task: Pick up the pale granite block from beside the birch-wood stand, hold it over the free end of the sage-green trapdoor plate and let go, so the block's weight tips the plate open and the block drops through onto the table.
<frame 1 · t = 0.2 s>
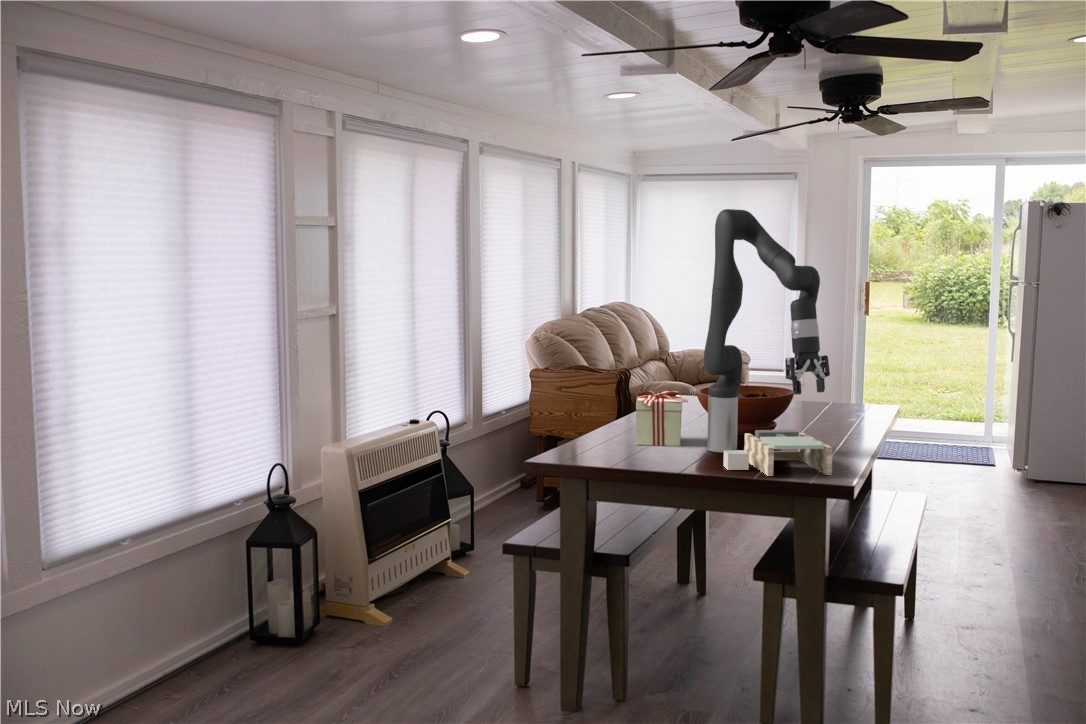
hand: (809, 393, 267), 22 cm above the table, tool pointing down, fingers open, 8 cm apart
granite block: (735, 469, 272), on the table
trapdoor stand: (786, 467, 274), on the table
trapdoor: (786, 443, 273), point 7 cm above the table, hinge at 0.0°
gift box: (660, 443, 313), on the table
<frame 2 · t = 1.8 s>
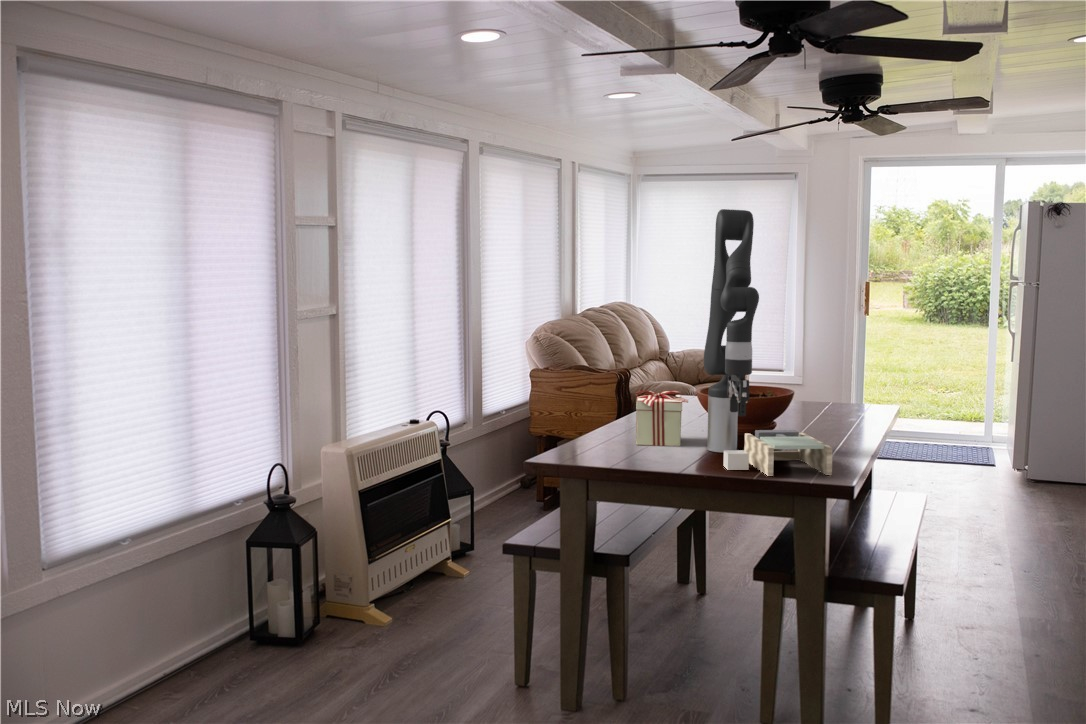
hand: (737, 414, 270), 16 cm above the table, tool pointing down, fingers open, 8 cm apart
nothing on the table moved.
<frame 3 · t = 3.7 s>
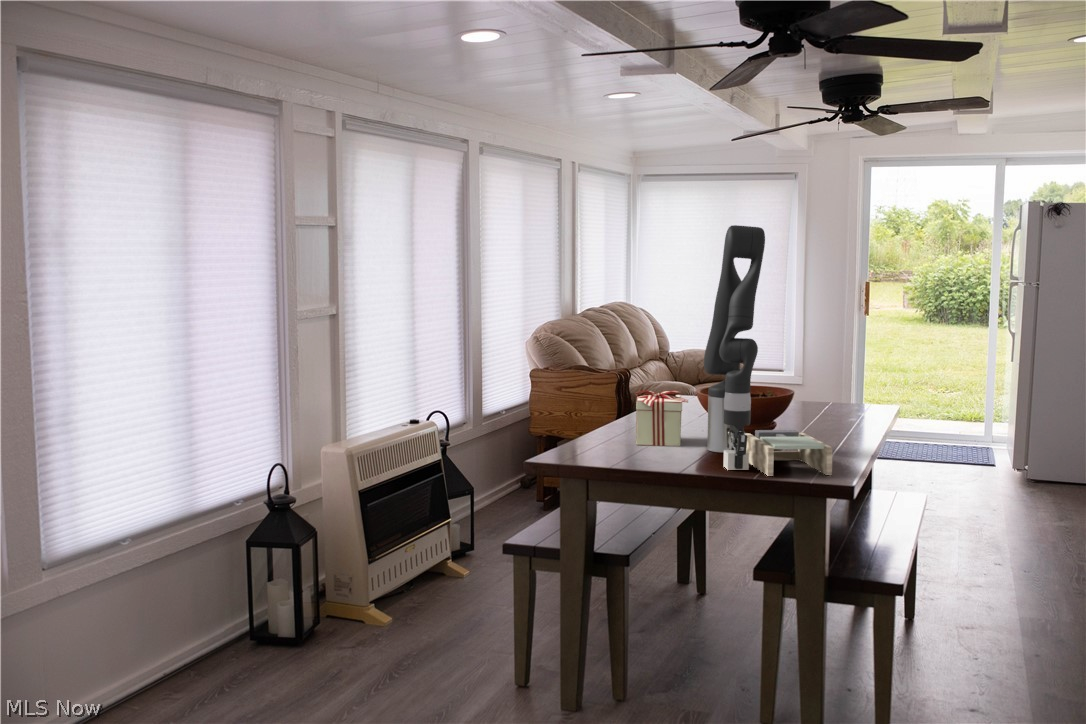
hand: (735, 466, 272), 1 cm above the table, tool pointing down, fingers closed on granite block, 5 cm apart
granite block: (735, 468, 272), on the table, touching gripper
everything else where it was.
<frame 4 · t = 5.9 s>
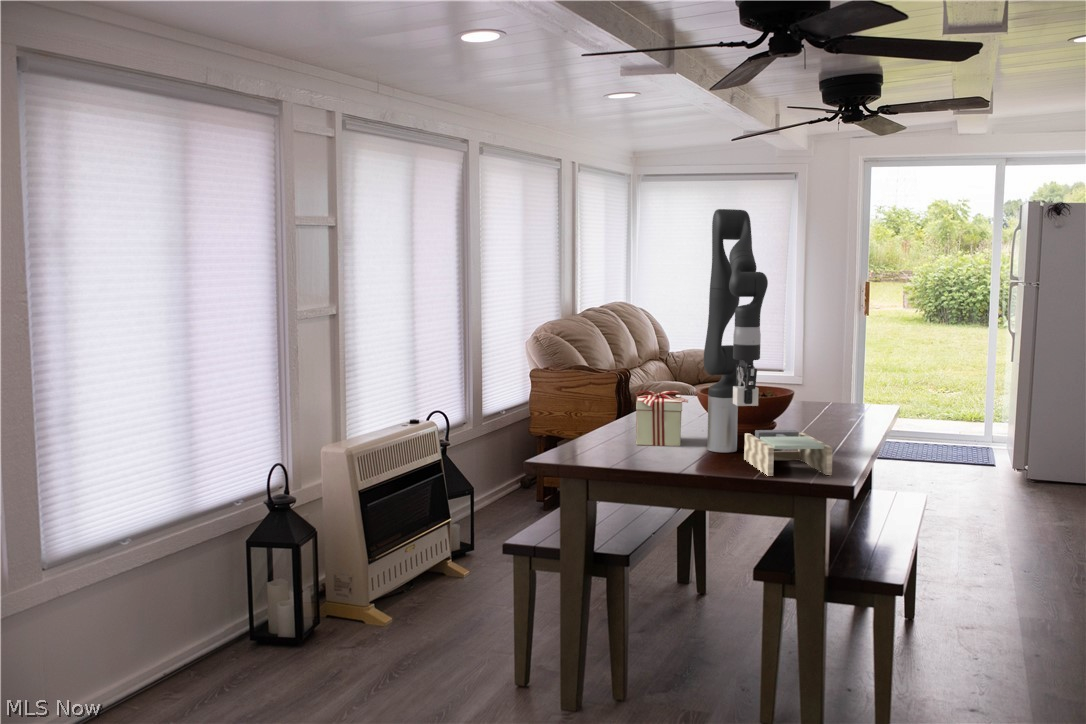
hand: (745, 402, 269), 19 cm above the table, tool pointing down, fingers closed on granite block, 5 cm apart
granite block: (745, 404, 269), point 19 cm above the table, touching gripper
everything else where it was.
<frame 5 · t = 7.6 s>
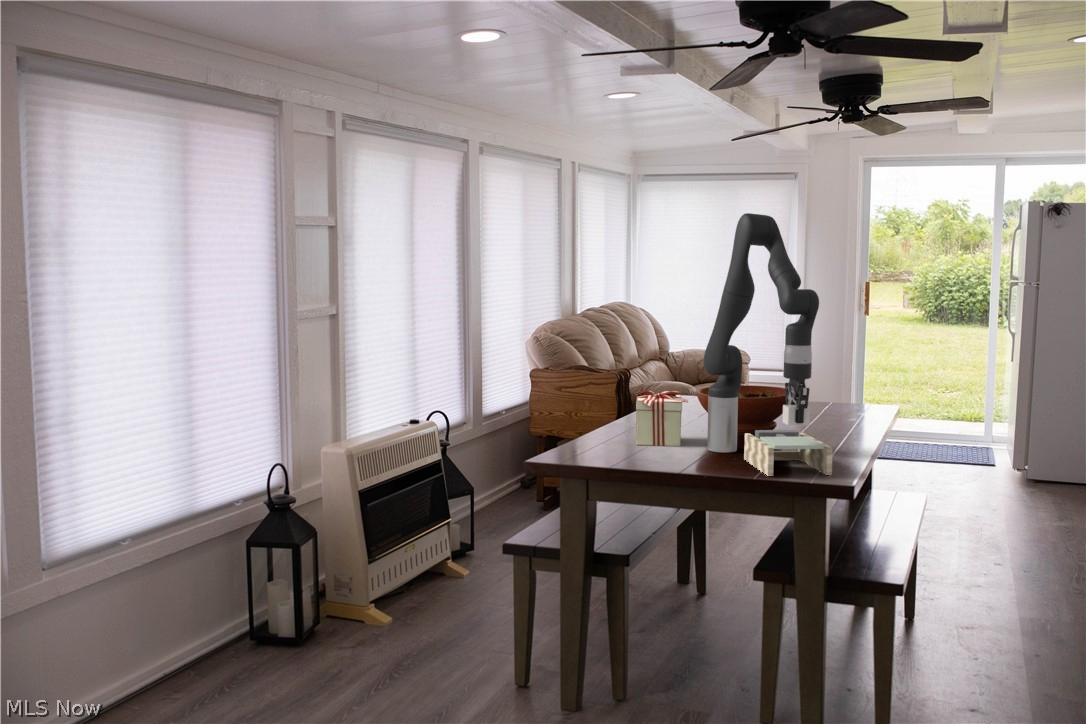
hand: (795, 421, 265), 15 cm above the table, tool pointing down, fingers closed on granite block, 5 cm apart
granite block: (795, 423, 265), point 14 cm above the table, touching gripper
everything else where it was.
when the fingers open (12 cm above the table, at t = 8.5 s): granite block drops 8 cm and tips over, resting on trapdoor.
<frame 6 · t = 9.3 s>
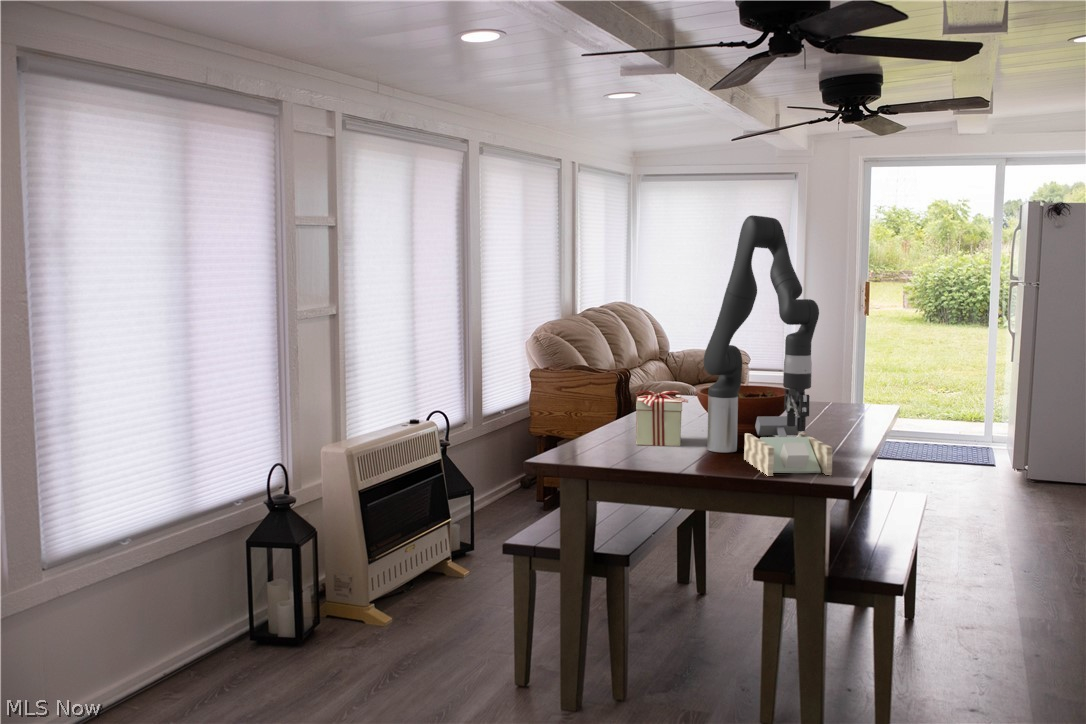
hand: (795, 428, 265), 13 cm above the table, tool pointing down, fingers open, 8 cm apart
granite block: (792, 462, 267), point 3 cm above the table, tilted 33°, touching trapdoor
trapdoor: (785, 447, 274), point 6 cm above the table, hinge at -32.8°, touching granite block
everything else where it was.
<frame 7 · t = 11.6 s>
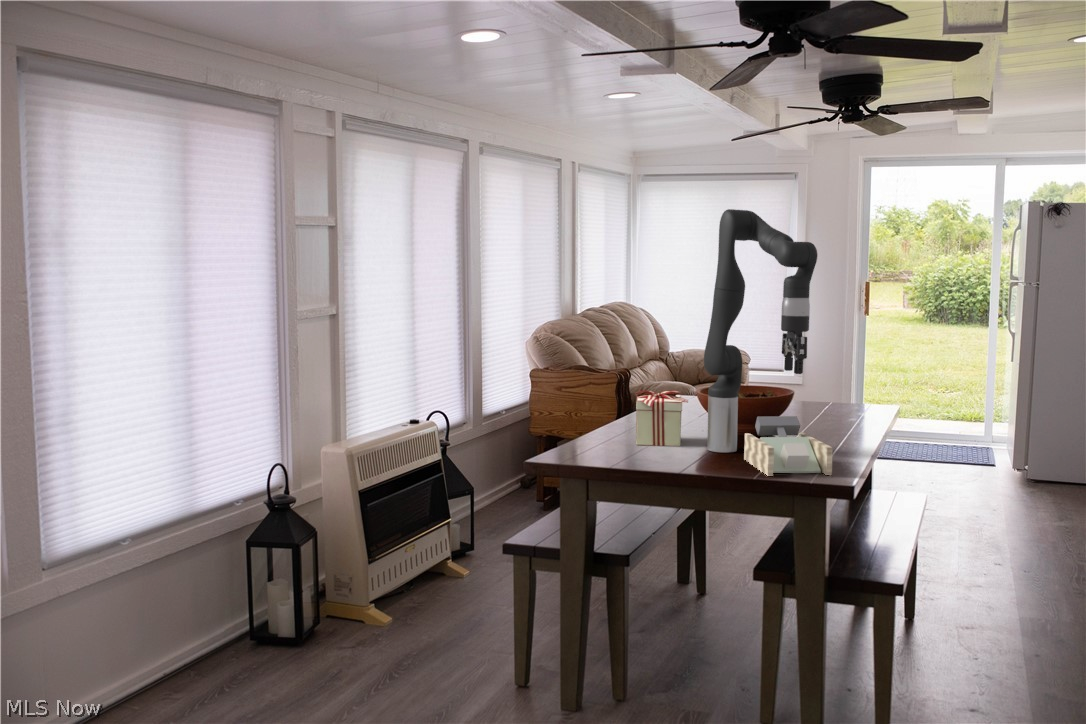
hand: (793, 372, 264), 28 cm above the table, tool pointing down, fingers open, 8 cm apart
nothing on the table moved.
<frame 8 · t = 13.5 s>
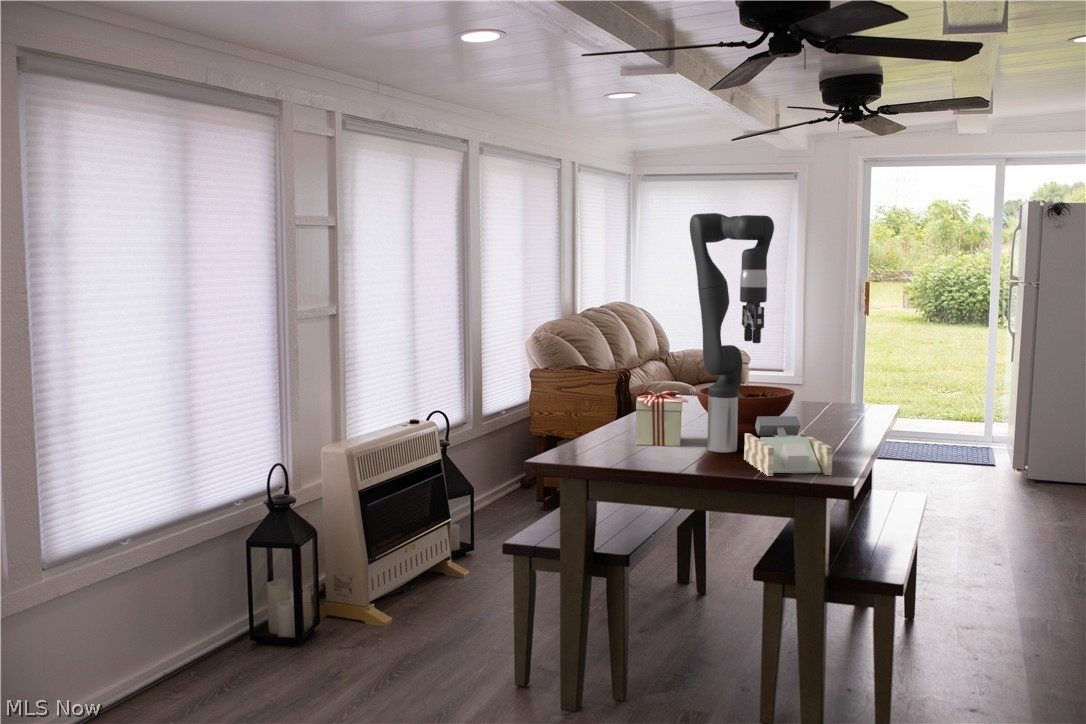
hand: (752, 342, 272), 36 cm above the table, tool pointing down, fingers open, 8 cm apart
nothing on the table moved.
at the end: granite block point 2.7 cm above the table; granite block inside the target area on the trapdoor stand (2.9 cm from its centre), point 2.7 cm above the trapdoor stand's base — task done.
